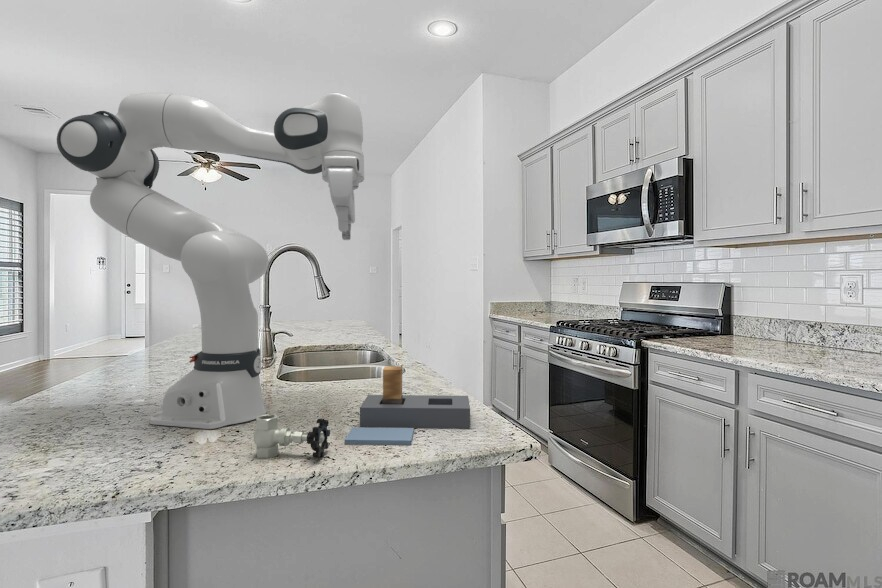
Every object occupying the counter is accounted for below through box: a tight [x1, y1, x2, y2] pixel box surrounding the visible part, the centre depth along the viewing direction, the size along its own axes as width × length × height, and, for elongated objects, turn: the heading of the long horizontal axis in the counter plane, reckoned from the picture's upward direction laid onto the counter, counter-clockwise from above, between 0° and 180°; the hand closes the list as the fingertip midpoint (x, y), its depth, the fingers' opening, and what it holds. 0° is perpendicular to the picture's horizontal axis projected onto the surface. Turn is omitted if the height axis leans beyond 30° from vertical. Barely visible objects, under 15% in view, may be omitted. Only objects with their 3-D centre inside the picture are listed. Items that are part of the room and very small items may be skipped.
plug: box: [382, 365, 404, 405], centre depth 100 cm, size 4×4×11 cm
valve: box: [253, 413, 331, 459], centre depth 80 cm, size 7×7×12 cm
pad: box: [343, 426, 415, 446], centre depth 89 cm, size 12×7×1 cm, turn 89°
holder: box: [359, 394, 471, 429], centre depth 100 cm, size 22×10×4 cm, turn 89°
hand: (344, 235), depth 101 cm, fingers open, 8 cm apart
